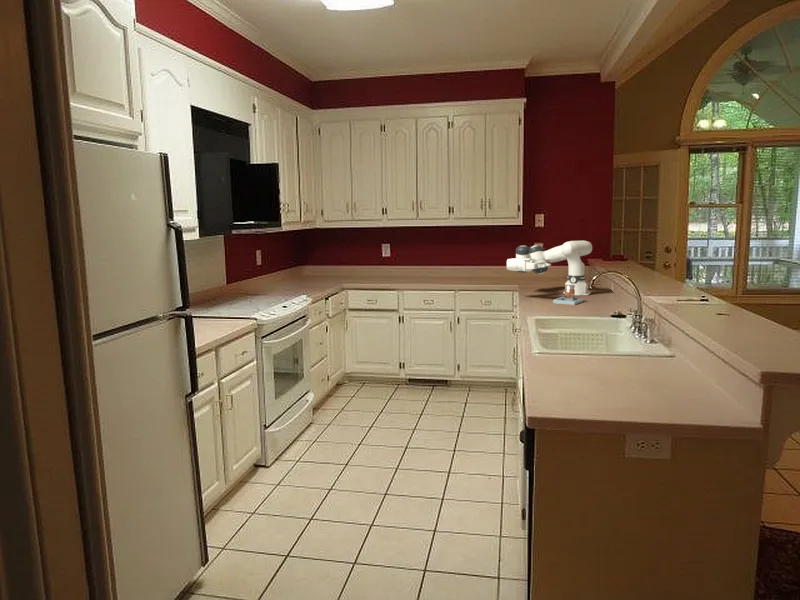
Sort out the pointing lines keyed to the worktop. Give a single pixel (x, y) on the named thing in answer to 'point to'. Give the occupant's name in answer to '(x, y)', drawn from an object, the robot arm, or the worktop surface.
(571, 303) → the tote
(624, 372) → the worktop surface
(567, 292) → the clear glass cup
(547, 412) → the worktop surface
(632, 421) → the worktop surface
